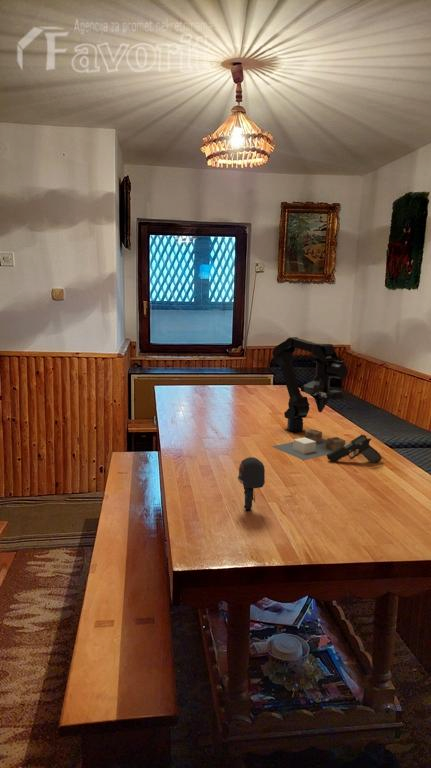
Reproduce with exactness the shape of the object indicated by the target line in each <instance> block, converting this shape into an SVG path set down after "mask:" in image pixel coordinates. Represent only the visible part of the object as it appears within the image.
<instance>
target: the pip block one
mask: <svg viewBox="0 0 431 768" xmlns="http://www.w3.org/2000/svg"><path fill="white" fill-rule="evenodd" d="M304 431H305V432H304V437H305V438H308V439H311V440H313V441H316V443H318V442H321V441H322V439H323V431H320V430H316V429H313V428H312V429H307V430H304Z"/></svg>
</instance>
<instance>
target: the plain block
mask: <svg viewBox="0 0 431 768" xmlns="http://www.w3.org/2000/svg"><path fill="white" fill-rule="evenodd" d="M292 442H293V450H295V451H298V452H300V453H303V454H306V453H310V452H315V447H316V441H313V440H311V439H308V438H305V436H304V437H299V438H295V439H293V440H292Z"/></svg>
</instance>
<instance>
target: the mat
mask: <svg viewBox="0 0 431 768" xmlns="http://www.w3.org/2000/svg"><path fill="white" fill-rule="evenodd" d="M326 442H327V439H325V438H322V441H321V442H318V443H316V447H315V452H310V453H306V454H303V453H300V452H298V451H295V450H293V441H291V442H287V443H281V444H276V445H272V446H271V448H274V449H277V450H278V451H280V452H283V453H285V454H287V455H290V456H293V457H294V458H297V459H300V460H302V461H307V460H311V459H315V458H319V457H324V456H327V454H330V453H331V452H333V451H331V450H329V449H327V448H326Z"/></svg>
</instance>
